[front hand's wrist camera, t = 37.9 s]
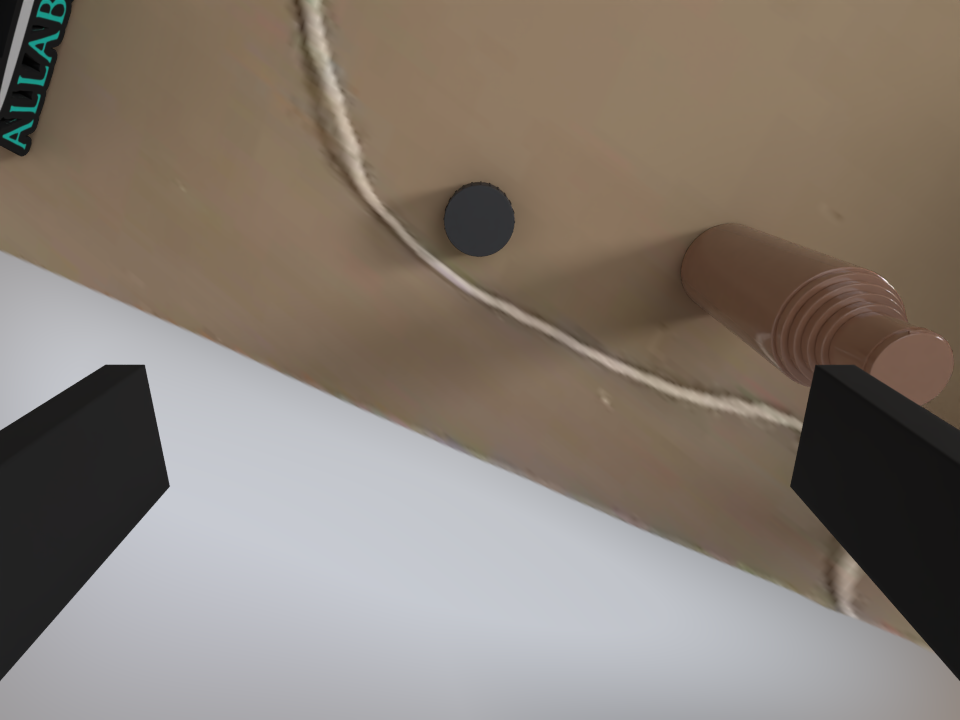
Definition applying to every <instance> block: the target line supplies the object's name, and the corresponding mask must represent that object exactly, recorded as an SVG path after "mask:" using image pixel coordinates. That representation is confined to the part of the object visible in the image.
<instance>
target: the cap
mask: <svg viewBox="0 0 960 720" xmlns="http://www.w3.org/2000/svg"><path fill="white" fill-rule="evenodd" d="M514 223H515V221H514V211H513V209H512V207H511V202H510V200H508V198H507V197H506V194H505V193H503V192H502V191H501V190H500V189H499V187H495V186H494V185H491V184H490V183H489V184H488V183H484V182H481V181H480V182H475V183H473V182H471V183H470V184H467V185H465V186H464V185H463V187H462V188H460V189H459V190H458V191H457V190H456V191H455V194H454V195H453V196H452V198H450V200H449V204H448V206H446V209H445V217H444V225H445V230H446V234H447V236H448V238H449V240H450V241H451V243H452V244H453V245H454V246H455V247H456V248H457V249H458V250H460V251H461V252H463V253H465V254H468V255H471V256H477V257H482V256H488V255H491V254H494V253H496V252H497V251H499V250H500V249H502V248H503V247H504V246H505V245H506V243H507V242H508V241H509V239H510V237H511V235H512V233H513V229H514Z"/></svg>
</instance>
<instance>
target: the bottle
mask: <svg viewBox="0 0 960 720" xmlns="http://www.w3.org/2000/svg"><path fill="white" fill-rule="evenodd" d="M681 279H682V284H683V287H684V289H685V291H686V293H687V295H688V296H689V297H690V298H691V299H692V300H693V301H694V302H695V303H696V304H697V305H699V306H700V307H701V308H702V309H704V310H705V311H706V312H707V313H709V314H710V315H711V316H712V317H714V318H715V319H716V320H717V321H719V322H720V323H721V324H722V325H724V326H725V327H726V328H727V329H729V330H730V331H731V332H732V333H734V334H735V335H736V336H737V337H739V338H740V339H741V340H742V341H744V342H745V343H746V344H747V345H749V346H750V347H751V348H752V349H754V350H755V351H756V352H757V353H759V354H760V355H761V356H762V357H764V358H765V359H766V360H767V361H769V362H770V363H771V364H772V365H774V366H775V367H776V368H777V369H779V370H780V371H781V372H782V373H784V374H785V375H786V376H788V377H789V378H790V379H792V380H793V381H795V382H797V383H799V384H801V385H804V386H808V387H811V383H812V379H813V374H814V369H815V365H856V366H857V367H859V368H860V369H862V370H864V371H865V372H867V373H868V374H870V375H872V376H873V377H875V378H876V379H878V380H880V381H881V382H883V383H884V384H886V385H888V386H889V387H891V388H892V389H894V390H896V391H897V392H899V393H900V394H902V395H904V396H905V397H907V398H908V399H910V400H912V401H913V402H915V403H916V404H918V405H920V406H921V405H923V404H925V403H927V402H929V401H930V400H932V399H933V398H934V397H936V396H937V395H938V394H939V393H940V392H941V391H942V390H943V389H944V387H945V386H946V385H947V383H948V381H949V379H950V377H951V375H952V372H953V366H954V358H953V353H952V352H953V351H952V349H951V347H950V345H949V343H948V342H947V341H946V340H945V339H944V338H943V337H942V336H941V335H939V334H937V333H935V332H933V331H930V330H928V329H926V328H921V327H916V326H914V325H912V324H909V323H908V320H907V317H906V312H905V307H904V304H903V302H902V299H901V297H900V296H899V294H898V292H897V291H896V290H895V289H894V288H893V287H892V286H891V285H890V284H889V283H888V282H887V281H886V280H885V279H884V278H883V277H882V276H880V275H878V274H877V273H875V272H873V271H870V270H868V269H865V268H862V267H859V266H857V265H854V264H851V263H848V262H845V261H843V260H840V259H837V258H834V257H831V256H829V255H826V254H823V253H820V252H818V251H815V250H812V249H809V248H806V247H804V246H801V245H798V244H795V243H792V242H790V241H787V240H784V239H781V238H778V237H776V236H773V235H770V234H767V233H764V232H762V231H759V230H756V229H753V228H750V227H748V226H745V225H741V224H734V223H731V224H722V225H718V226H715V227H713V228H710V229H708V230H707V231H705V232H704V233H702V234H701V235H700V236H698V237H697V238H696V239H695V240H694V242H693V243H692V244H691V245H690V247H689V248H688V250H687V252H686V254H685V256H684V259H683V262H682V267H681Z"/></svg>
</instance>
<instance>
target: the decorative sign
mask: <svg viewBox="0 0 960 720" xmlns="http://www.w3.org/2000/svg"><path fill="white" fill-rule="evenodd" d="M72 2H73V0H0V146H2V147H4V148H6V149H8V150H10V151H12V152H14V153H16V154H17V155H19V156H24V155H26V154H27V153H28V152H29V150H30V147H31V138H30V137H28V136H26V135H28V134H31V133H33V132H34V131H35V129H36V127H37V124H38V121H39V115H40V113H41V110H42V107H43V104H44V100H45V97H46V90H47V88H48V86H49V83H50V80H51V77H52V74H53V70H54V65H55V63H56V59H57V52H56V50H54V49H53V48H52V47H56V46H58V45H59V44H60V43H61V42H62V39H63V37H64V33H65V28H66V26H67V23H68V20H69V17H70V13H71V3H72Z"/></svg>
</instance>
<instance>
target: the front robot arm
mask: <svg viewBox="0 0 960 720" xmlns="http://www.w3.org/2000/svg"><path fill="white" fill-rule="evenodd" d="M169 487H170V485H169V481H168V476H167V471H166V466H165V461H164V456H163V451H162V447H161V442H160V437H159V432H158V427H157V422H156V417H155V412H154V408H153V403H152V398H151V393H150V388H149V383H148V379H147V374H146V369H145V365H104V366H103V367H101V368H100V369H98V370H96V371H95V372H93V373H92V374H90V375H88V376H87V377H85V378H84V379H82V380H80V381H79V382H77V383H76V384H74V385H72V386H71V387H69V388H68V389H66V390H64V391H63V392H61V393H60V394H58V395H56V396H55V397H53V398H52V399H50V400H48V401H47V402H45V403H44V404H42V405H40V406H39V407H37V408H36V409H34V410H32V411H31V412H29V413H28V414H26V415H24V416H23V417H21V418H20V419H18V420H16V421H15V422H13V423H12V424H10V425H8V426H7V427H5V428H4V429H2V430H0V681H1V679H2V678H3V677H4V676H5V675H6V674H7V672H8V671H9V670H10V669H11V668H12V667H13V666H14V664H15V663H16V662H17V661H18V660H19V659H20V658H21V656H22V655H23V654H24V653H25V652H26V651H27V650H28V648H29V647H30V646H31V645H32V644H33V643H34V642H35V640H36V639H37V638H38V637H39V636H40V635H41V633H42V632H43V631H44V630H45V629H46V628H47V627H48V625H49V624H50V623H51V622H52V621H53V620H54V619H55V617H56V616H57V615H58V614H59V613H60V612H61V611H62V609H63V608H64V607H65V606H66V605H67V604H68V603H69V601H70V600H71V599H72V598H73V597H74V596H75V595H76V593H77V592H78V591H79V590H80V589H81V588H82V587H83V585H84V584H85V583H86V582H87V581H88V580H89V578H90V577H91V576H92V575H93V574H94V573H95V572H96V570H97V569H98V568H99V567H100V566H101V565H102V564H103V562H104V561H105V560H106V559H107V558H108V557H109V556H110V554H111V553H112V552H113V551H114V550H115V549H116V548H117V546H118V545H119V544H120V543H121V542H122V541H123V540H124V538H125V537H126V536H127V535H128V534H129V533H130V531H131V530H132V529H133V528H134V527H135V526H136V525H137V523H138V522H139V521H140V520H141V519H142V518H143V517H144V515H145V514H146V513H147V512H148V511H149V510H150V509H151V507H152V506H153V505H154V504H155V503H156V502H157V501H158V499H159V498H160V497H161V496H162V495H163V494H164V492H165V491H166V490H167V489H168V488H169ZM790 487H791V488H792V489H793V490H794V491H795V492H796V494H797V495H798V496H799V497H800V498H801V499H802V501H803V502H804V503H805V504H806V505H807V506H808V507H809V509H810V510H811V511H812V512H813V513H814V514H815V515H816V517H817V518H818V519H819V520H820V521H821V522H822V523H823V525H824V526H825V527H826V528H827V529H828V530H829V531H830V533H831V534H832V535H833V536H834V537H835V538H836V540H837V541H838V542H839V543H840V544H841V545H842V546H843V548H844V549H845V550H846V551H847V552H848V553H849V554H850V556H851V557H852V558H853V559H854V560H855V561H856V562H857V564H858V565H859V566H860V567H861V568H862V569H863V570H864V572H865V573H866V574H867V575H868V576H869V577H870V578H871V580H872V581H873V582H874V583H875V584H876V585H877V587H878V588H879V589H880V590H881V591H882V592H883V593H884V595H885V596H886V597H887V598H888V599H889V600H890V601H891V603H892V604H893V605H894V606H895V607H896V608H897V609H898V611H899V612H900V613H901V614H902V615H903V616H904V617H905V619H906V620H907V621H908V622H909V623H910V624H911V625H912V627H913V628H914V629H915V630H916V631H917V632H918V634H919V635H920V636H921V637H922V638H923V639H924V640H925V642H926V643H927V644H928V645H929V646H930V647H931V648H932V650H933V651H934V652H935V653H936V654H937V655H938V656H939V658H940V659H941V660H942V661H943V662H944V663H945V664H946V666H947V667H948V668H949V669H950V670H951V671H952V673H953V674H954V675H955V676H956V677H957V678H958V679H959V681H960V430H958V429H956V428H955V427H953V426H952V425H950V424H948V423H947V422H945V421H944V420H942V419H940V418H939V417H937V416H936V415H934V414H932V413H931V412H929V411H928V410H926V409H924V408H923V407H921V406H920V405H918V404H916V403H915V402H913V401H912V400H910V399H908V398H907V397H905V396H904V395H902V394H900V393H899V392H897V391H896V390H894V389H892V388H891V387H889V386H888V385H886V384H884V383H883V382H881V381H880V380H878V379H876V378H875V377H873V376H872V375H870V374H868V373H867V372H865V371H864V370H862V369H860V368H859V367H857V366H856V365H815V369H814V374H813V379H812V383H811V388H810V393H809V398H808V403H807V408H806V412H805V417H804V422H803V427H802V432H801V437H800V442H799V446H798V451H797V456H796V461H795V466H794V471H793V476H792V480H791V485H790Z"/></svg>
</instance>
